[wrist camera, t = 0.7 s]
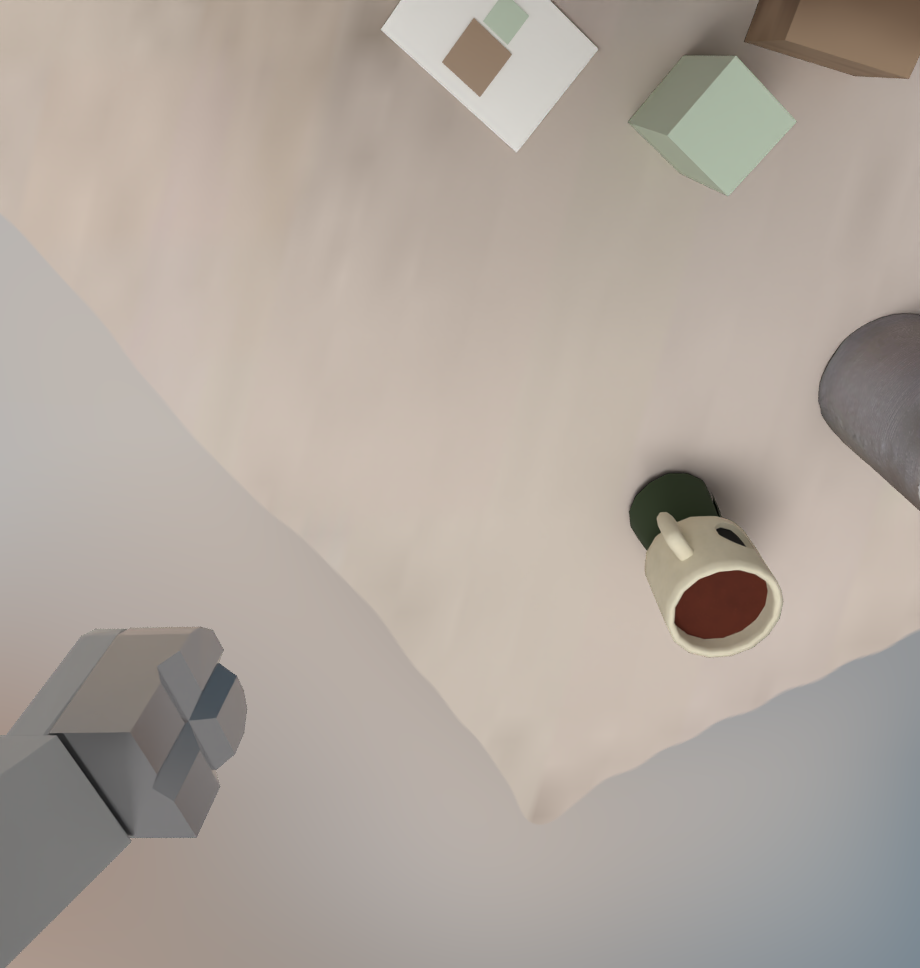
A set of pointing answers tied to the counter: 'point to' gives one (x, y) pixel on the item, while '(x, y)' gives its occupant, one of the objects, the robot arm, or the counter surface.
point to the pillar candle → (879, 399)
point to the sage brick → (712, 120)
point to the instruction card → (495, 56)
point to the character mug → (703, 569)
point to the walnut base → (842, 34)
